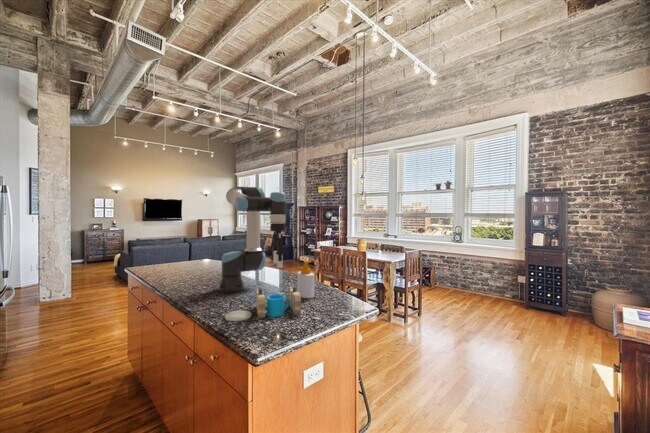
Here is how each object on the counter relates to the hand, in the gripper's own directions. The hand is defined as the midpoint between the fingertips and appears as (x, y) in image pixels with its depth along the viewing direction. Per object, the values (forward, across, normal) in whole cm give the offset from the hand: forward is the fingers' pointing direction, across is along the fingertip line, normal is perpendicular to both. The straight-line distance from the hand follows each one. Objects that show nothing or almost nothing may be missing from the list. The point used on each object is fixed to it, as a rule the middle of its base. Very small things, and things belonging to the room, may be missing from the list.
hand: (277, 265), depth 148 cm
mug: (+23, +5, 0) cm, 23 cm away
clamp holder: (+22, +1, 0) cm, 22 cm away
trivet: (+22, +5, -19) cm, 30 cm away
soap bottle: (+22, -20, +19) cm, 35 cm away
